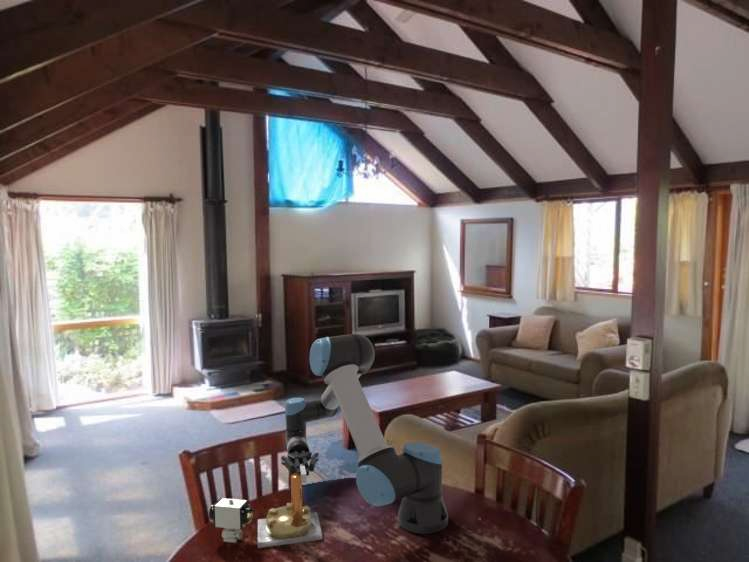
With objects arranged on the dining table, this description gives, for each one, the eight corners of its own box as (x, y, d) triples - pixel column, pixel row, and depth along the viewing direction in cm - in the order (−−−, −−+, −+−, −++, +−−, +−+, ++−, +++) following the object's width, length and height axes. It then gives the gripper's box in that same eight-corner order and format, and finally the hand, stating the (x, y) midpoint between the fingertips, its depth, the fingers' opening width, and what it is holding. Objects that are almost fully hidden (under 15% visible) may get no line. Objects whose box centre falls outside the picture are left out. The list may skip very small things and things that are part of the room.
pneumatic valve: (247, 546, 146) (246, 504, 145) (209, 542, 148) (207, 501, 147) (256, 535, 151) (254, 495, 150) (219, 532, 153) (217, 492, 153)
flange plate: (317, 516, 161) (317, 512, 161) (322, 539, 149) (322, 534, 149) (257, 524, 157) (257, 519, 157) (257, 548, 145) (257, 542, 145)
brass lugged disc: (320, 528, 151) (318, 471, 150) (279, 544, 143) (277, 484, 142) (298, 510, 162) (296, 457, 161) (259, 523, 154) (257, 468, 153)
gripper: (316, 458, 186) (325, 487, 163) (280, 462, 184) (283, 492, 161) (316, 438, 186) (324, 464, 163) (279, 441, 183) (282, 468, 160)
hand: (304, 478), depth 162 cm, fingers closed
